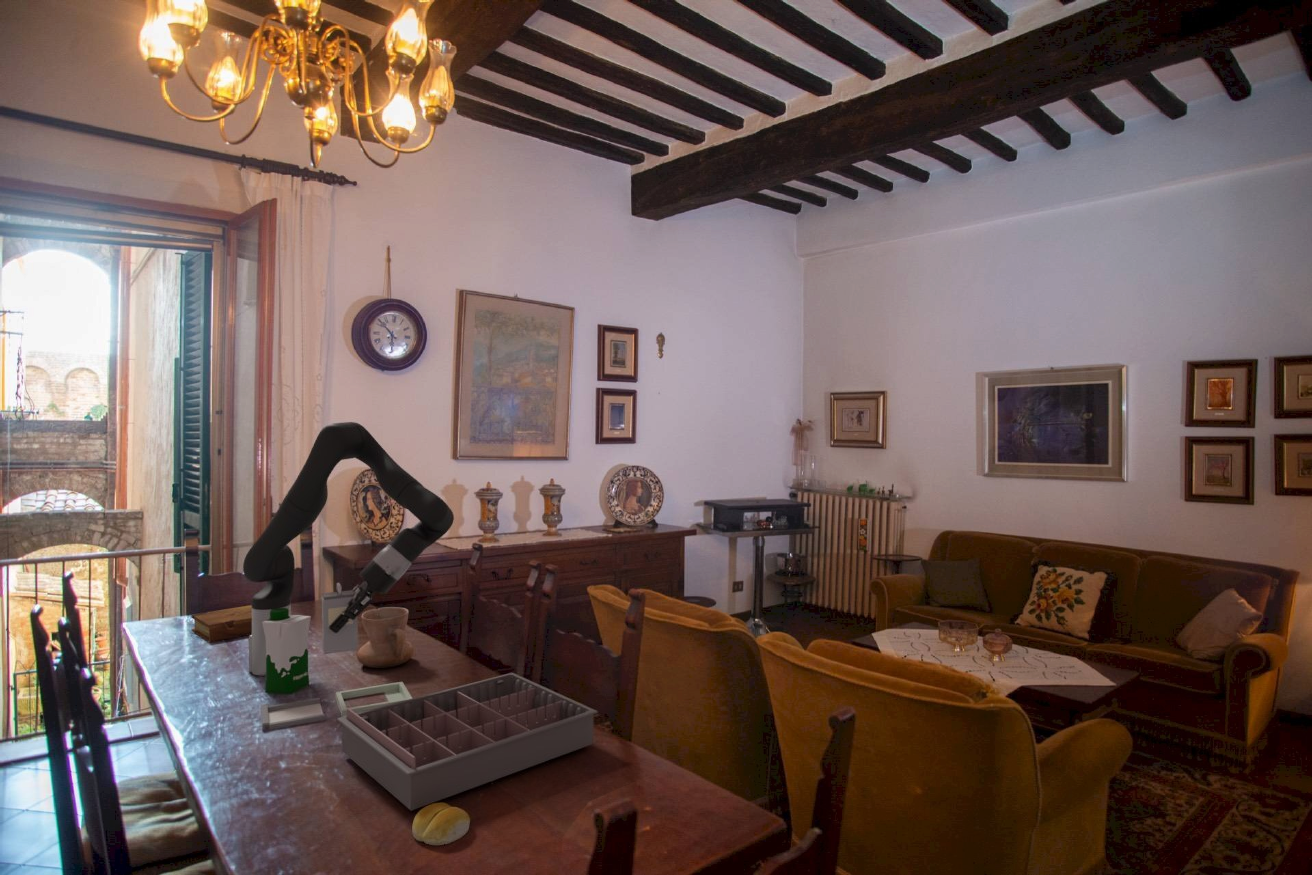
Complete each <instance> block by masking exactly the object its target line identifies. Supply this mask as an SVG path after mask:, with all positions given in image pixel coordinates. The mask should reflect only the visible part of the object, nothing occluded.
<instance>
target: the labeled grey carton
mask: <svg viewBox="0 0 1312 875" xmlns="http://www.w3.org/2000/svg"><path fill="white" fill-rule="evenodd" d="M354 592H355V591H353V590H352V589H350V590H342V585H341V583H340V582H337V583H336V591H331V592H322V594H321V596H320V597H321V636H322V637H321V639H322V640H321V642H322V643H321V644H322V647H321V648H322V651H323V655H329V654H338V653H342V652H343V653H344V652H351V651H359V629H358V628H359V626H358V625H359V624H358V619H359V618H358V616H357V617H356V618H355V619H354V620H350V621H348V622H347V623H346V624H345V625H344V626H343V627H342V628H341V629H340V631H339V632H338V633H334V632H333V631H332V630H330V628H329V626H330V625H331V624H332V623H333V622H334V621H335V620H336V619H337V617H338V616H339V615H340V614H341V613H342V611H344V609H345V608H346V607H347V603H348V602H349V601H350V600H351V598H352V597H353V596H354V595H355V593H354ZM356 597H357V596H356ZM354 602H355V599H354V600H353V603H354ZM351 612H352V613H353V612H354V610H353V609H352V610H351ZM341 615H342V614H341Z"/></svg>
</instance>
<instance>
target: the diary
mask: <svg viewBox="0 0 1312 875" xmlns="http://www.w3.org/2000/svg"><path fill="white" fill-rule="evenodd" d="M190 617H191V618H192V619H193V620H194V628H192V629H191V632H193V633H194V634H196V635H197V636H199V637H200V638H201V639H203V640H205V639H206V640H205V641H206V642H208V641H209V642H208V643H213V641H215V642H219V640H220V641H225V640H230V639H235V638H242V637H247V636H250V635H252V604H250V605H245V606H239V607H238V606H237V607H232V608H231V607H230V608H225V609H224V608H223V609H220V610H219V609H218V610H212V611H205V612H200V613H193V614H191V616H190ZM224 639H225V640H224Z"/></svg>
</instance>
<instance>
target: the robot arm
mask: <svg viewBox="0 0 1312 875" xmlns="http://www.w3.org/2000/svg"><path fill="white" fill-rule="evenodd" d="M350 459H357V460H359V461H360V462H361V463H363V464H365V465H366V466H367V467H369V468H370V469H371V470H372V472H373V473H374V475H375V478H376V481H377V483H378V485H379V486H380V488H381V489H382V491H383V492H384V493H385V494H386V495H387V496H388V497H390V498H391V499H392V500H393V501H394V502H396V503H397V504H398V505H399V506H400V507H402V508H403V509H405V510H408V512H410V513H411V514H412V515H413V516H414V517H416V519H417V520H419V521H418V522H417V523H416V524H415V525H414V526H412V527H411V528H410V527H405V528H404V529H402V530H401V531H400V532H399V533H398V534H397V535H396V536H395V537H394V538H393V539H392V540H391V541H390V542H389V543H388V544H387V545H386V546H385V547H384V548H382V549H381V550H380V551H379V552H378V554H376V555H375V556H374V557H373V558H372V559H371V561H370V562H369V563H368V564H367V565H365V567H364V568H363V569H362V570H361V571H360V572H359V576H360V578H362V580H364V581H363V582H361V584H359V583H356V584H355V585H354V586H353V587H352V589H351V590H353V591H355V592H354V593H355V595H354V596H353V597H352V598H351V600H350V601H349V602H348V603H347V607H346V608H345V609H344V611H342V613H341V614H342V615H341V614H340V615H339V616H338V617H337V619H336V620H335V621H334V622H333V623H332V624H331V625H330V626H329V628H330V630H332V631H333V632H334V633H338V632H339V631H340V629H341V628H342V627H343V626H344V625H345V624H346V623H347V622H348V621H350V620H354V619H355V618H356V617H357V618H358V616H359V615H360V614H361V613H362V612H363V611H364V610H365V609H367V607H369V606H370V604H372V603H373V595H374V594H375V593H376V592H379V594H381V595H386V594H387V593H388V592H389V591H390V589H391V588H393V586H394V585H395V584H396V583H397V581H399V580H400V579H401V578H402V577H403V575H404V574H405V573H406V572H407V571H408V570H409V568H410V566H412V564H413V563H414V562H415V561H416V560H417V559H418V557H420V556H421V554H422V553H423V552H424V551H425V550H426V549H427V548H429V547H430V546H432V545H433V544H434V543H435V542H437V541H438V540H439V539H440V538H442V537H443V536H444V535H445V534H446V533H447V532H448V531H449V530H450V529H451V527H452V526H453V524H454V520H455V516H454V512H453V511H452V509H451V508H450V506H449V505H448V504H447V503H446V501H444V499H442V498H441V497H440V496H438V495H437V494H436V493H434V492H432V491H431V490H429V489H428V488H426V487H425V486H424V485H423V484H422V483H421V482H420V481H418V480H417V479H416V478H414V476H412V475H411V474H410V473H409V472H408V471H407V470H405V469H404V468H403V467H402V466H401V465H400V464H398V463H397V462H396V461H395V460H394V459H393V457H391V455H389V453H387V451H386V450H385V449H384V448H383V447H382V446H381V444H380V443H379V442H378V441H377V440H376V439H375V437H374V436H373V435H372V434H371V433H370V432H369V431H368V430H367V429H366V427H365V426H364V425H362V424H360V423H358V422H355V421H344V422H335V423H330V424H327V425H325V426H324V427H322V429H321V430H320V431H319V433H318V435H317V436H316V438H315V441H314V443H313V445H312V447H311V450H310V452H309V454H308V456H307V458H306V461H305V463H304V464H303V467H302V468H301V470H300V472H299V474H298V475H297V478H296V479H295V481H294V482H293V483H292V486H290V489H289V490H288V491H287V493H286V495H285V496H284V498H283V499H282V502H281V503H280V505H279V507H278V508H277V511H276V512H275V514H274V515H273V517H272V518H271V520H270V522H269V523H268V525H267V526H266V528H265V529H264V531H263V532H262V533H261V534H260V536H259V537H258V538H257V540H256V541H255V542H254V543H253V544H252V546H251V547H250V548H249V550H248V552H247V553H246V555H245V557H244V559H243V565H242V566H243V567H242V570H243V571H242V572H243V575H244V577H245V578H246V579H247V581H250V582H252V583H265V582H266V584H265V586H264V587H263V588H262V589H260V591H258V592H257V593H256V594H253V596H252V597H251V605H252V635H248V672H249V673H252V674H253V675H254V676H266V637H265V633H264V628H263V624H262V622H264V621H266V620H268V619H270V611H271V610H273V609H277V608H287V609H288V611H289V615H292V614H291V613H292V609H291V608H292V606H291V600H292V596H293V594H294V590H295V589H294V587H295V569H296V567H295V555H294V552H293V551H292V549H291V547H290V546H289V545H288V544H289V543H290V542H292V541H294V539H296V538H297V537H298V536H300V535H302V534H303V533H304V532H305V531H306V530H308V529H309V528H310V527H311V526H312V525H313V524H314V522H315V521H317V519H318V517H319V516H320V514H321V512H322V511H323V510H324V508H325V505H326V504H327V500H328V494H329V493H328V492H329V491H328V479H329V477H330V475H331V474H332V472H333V471H334V469H335V467H336V466H337V465H338V464H339V463H340V462H341V461H344V460H350ZM356 596H357V597H356ZM354 599H355V602H354V603H353V600H354ZM352 609H353V610H354V612H353V613H352V612H351V610H352Z"/></svg>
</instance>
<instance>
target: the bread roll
mask: <svg viewBox="0 0 1312 875" xmlns="http://www.w3.org/2000/svg"><path fill="white" fill-rule="evenodd" d="M470 823H471V818H470V815H469V814H468V812H467V811H466V810H464V809H463V808H460V807H456V806H451V805H450V804H448V803H446V802H433V803H430V804H428V805H425V806H423V808H421V809H420V810H419V811H418V812H417V813H416V814H415V817H414V819H413V821H412V827H411V828H412V831H411V832H412V836H413V838H414V839H415V840H416V841H418V842H424V843H425V844H426V845H428V844H429V846H442V845H443V846H445V845H449V844H451V842H452V843H453V842H455V841H457V840H459V839H461V838H463V836H465V835H466V834H467V833H468V832H469V828H470ZM444 844H445V845H444Z"/></svg>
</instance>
